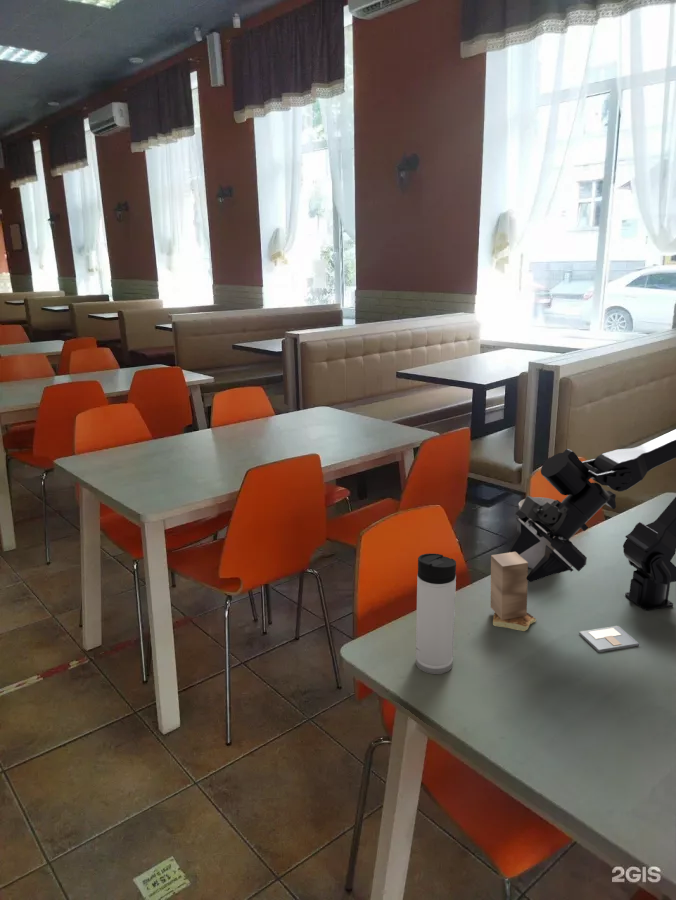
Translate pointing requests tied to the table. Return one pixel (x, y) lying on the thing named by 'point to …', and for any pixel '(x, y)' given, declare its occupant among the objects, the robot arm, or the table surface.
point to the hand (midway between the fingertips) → (517, 569)
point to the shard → (514, 622)
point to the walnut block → (509, 585)
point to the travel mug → (435, 613)
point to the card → (608, 638)
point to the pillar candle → (537, 550)
